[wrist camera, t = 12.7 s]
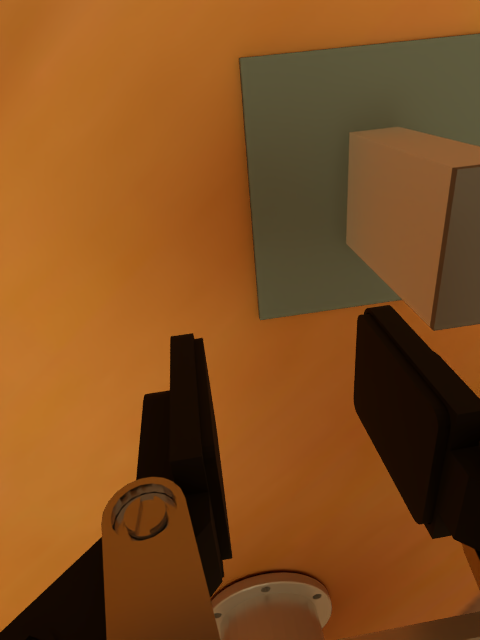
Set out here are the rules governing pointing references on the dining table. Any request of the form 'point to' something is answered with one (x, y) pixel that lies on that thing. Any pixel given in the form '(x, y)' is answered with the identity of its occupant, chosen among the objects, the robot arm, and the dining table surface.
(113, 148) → the dining table surface
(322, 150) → the mat
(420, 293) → the slab
